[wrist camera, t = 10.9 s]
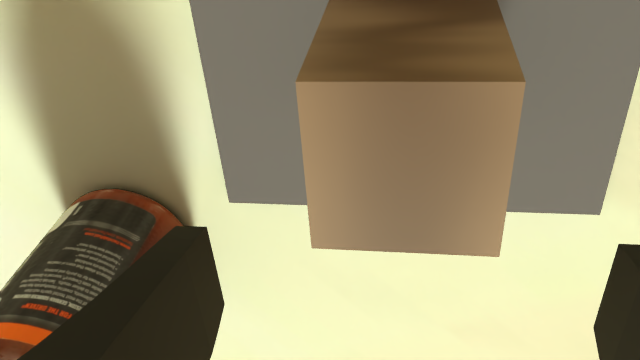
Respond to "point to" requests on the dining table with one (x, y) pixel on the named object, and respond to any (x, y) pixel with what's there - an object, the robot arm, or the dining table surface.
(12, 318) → the supplement bottle
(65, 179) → the dining table surface
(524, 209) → the mat
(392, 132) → the walnut block
